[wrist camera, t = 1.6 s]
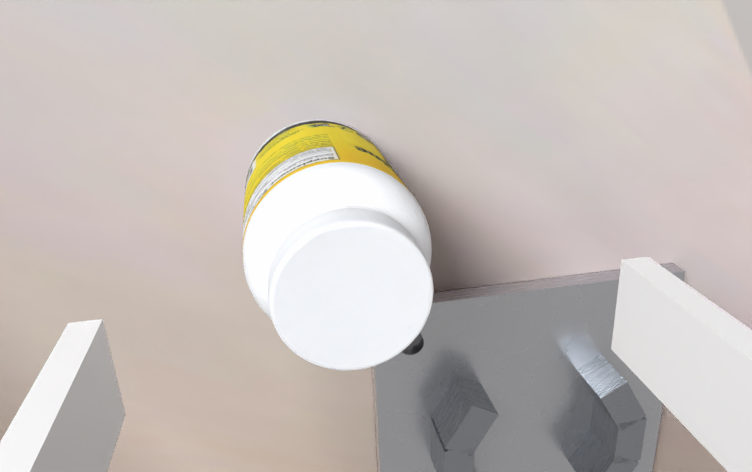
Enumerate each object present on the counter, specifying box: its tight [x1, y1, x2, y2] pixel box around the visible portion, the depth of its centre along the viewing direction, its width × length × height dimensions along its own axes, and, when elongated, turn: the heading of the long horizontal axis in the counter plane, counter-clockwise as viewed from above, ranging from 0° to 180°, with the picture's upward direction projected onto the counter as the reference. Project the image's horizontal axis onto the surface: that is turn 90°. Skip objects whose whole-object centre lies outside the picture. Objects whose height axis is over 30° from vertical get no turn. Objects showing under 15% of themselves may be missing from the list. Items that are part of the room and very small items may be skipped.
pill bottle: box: [242, 119, 434, 371], centre depth 22 cm, size 6×6×11 cm
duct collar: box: [372, 263, 685, 472], centre depth 33 cm, size 16×16×4 cm
